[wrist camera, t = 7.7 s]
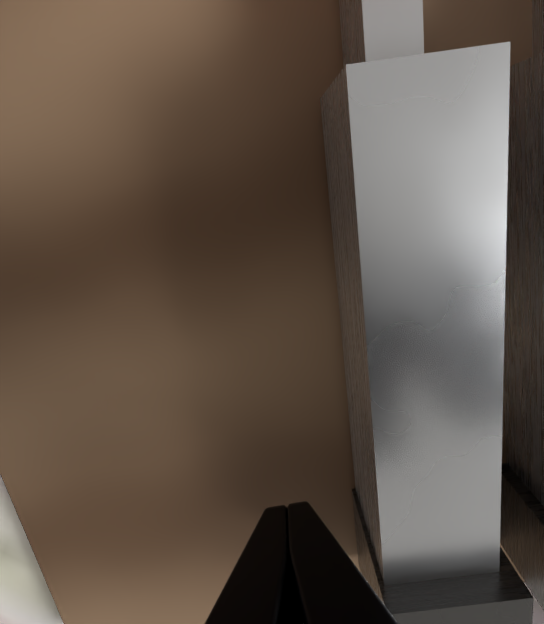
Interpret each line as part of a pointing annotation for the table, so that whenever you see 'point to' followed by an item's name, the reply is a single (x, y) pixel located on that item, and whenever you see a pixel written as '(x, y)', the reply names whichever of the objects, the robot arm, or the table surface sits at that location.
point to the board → (175, 286)
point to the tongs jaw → (423, 310)
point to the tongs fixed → (525, 319)
